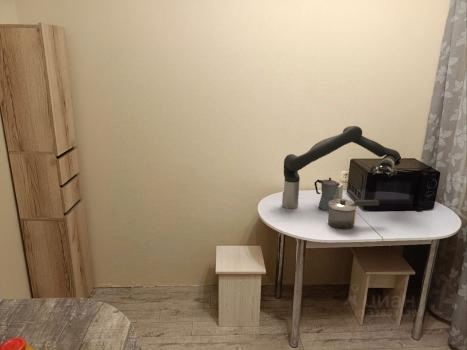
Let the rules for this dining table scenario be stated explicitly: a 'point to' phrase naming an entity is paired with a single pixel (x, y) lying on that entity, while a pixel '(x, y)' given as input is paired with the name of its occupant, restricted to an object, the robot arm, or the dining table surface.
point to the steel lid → (350, 204)
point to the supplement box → (338, 192)
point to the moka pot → (326, 192)
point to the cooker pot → (341, 219)
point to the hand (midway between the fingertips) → (381, 174)
